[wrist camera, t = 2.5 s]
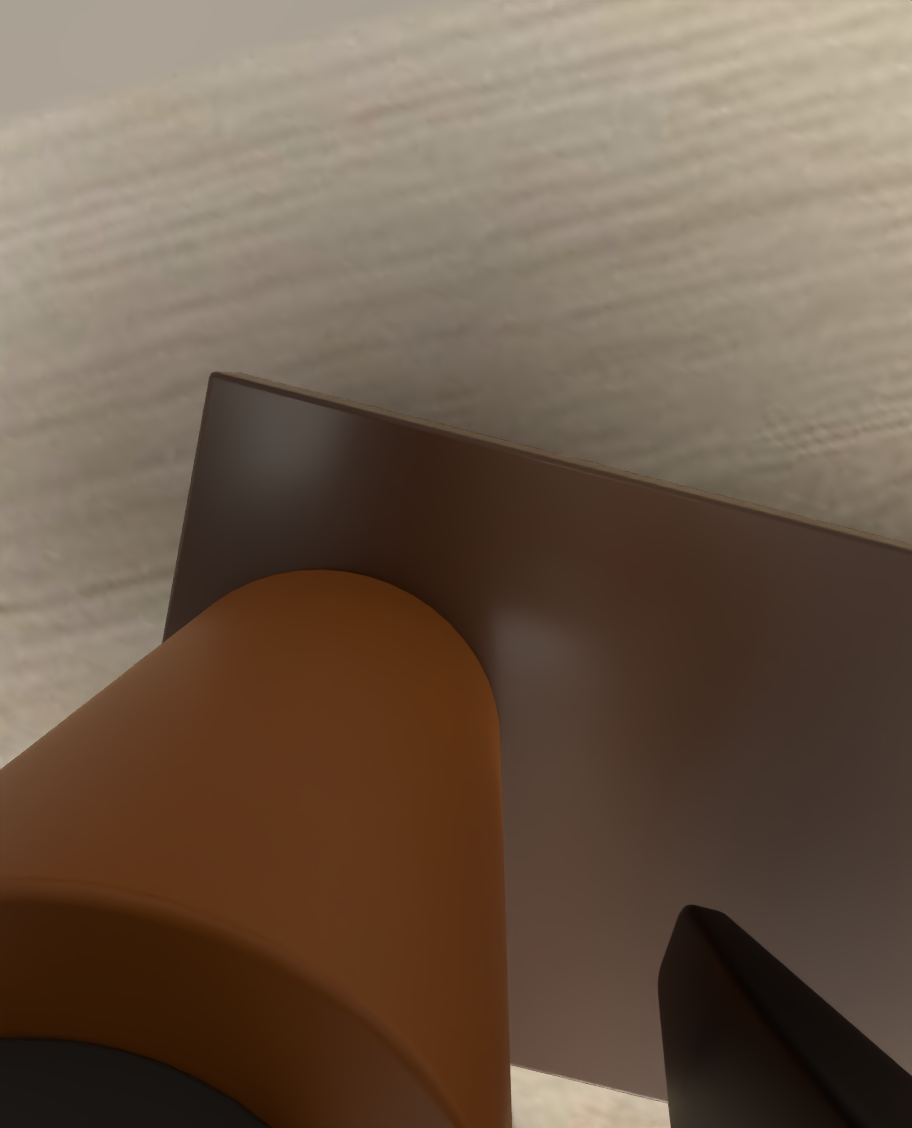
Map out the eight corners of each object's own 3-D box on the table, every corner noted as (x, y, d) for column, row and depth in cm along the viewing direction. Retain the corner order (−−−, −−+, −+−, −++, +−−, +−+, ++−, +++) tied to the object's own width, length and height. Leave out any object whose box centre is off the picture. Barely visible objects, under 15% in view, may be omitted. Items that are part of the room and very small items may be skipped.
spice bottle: (191, 903, 12) (-659, 2378, 3) (123, 588, 11) (-1416, 1432, 2) (518, 876, 12) (608, 2436, 3) (479, 548, 11) (423, 1351, 2)
